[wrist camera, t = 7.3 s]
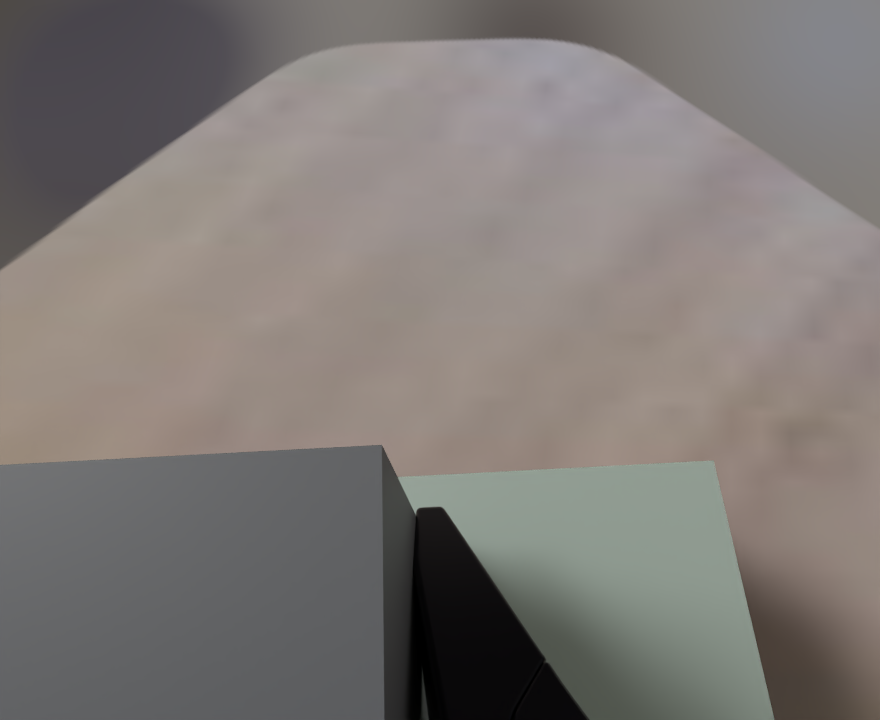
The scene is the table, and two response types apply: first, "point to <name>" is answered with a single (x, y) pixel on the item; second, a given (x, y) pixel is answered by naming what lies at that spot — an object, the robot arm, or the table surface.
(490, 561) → the sliding lid
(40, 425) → the table surface
